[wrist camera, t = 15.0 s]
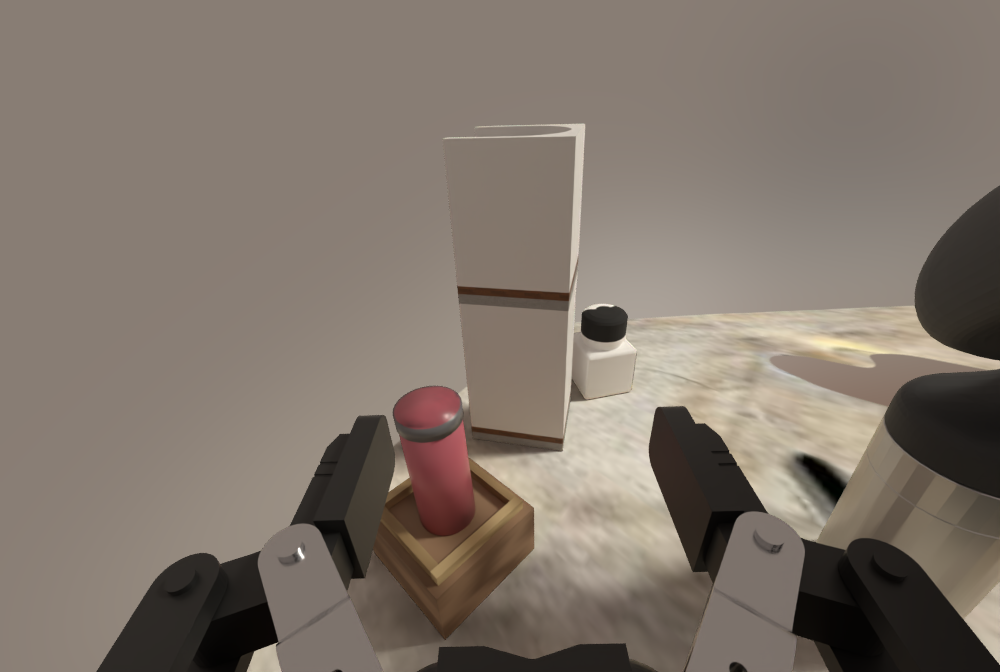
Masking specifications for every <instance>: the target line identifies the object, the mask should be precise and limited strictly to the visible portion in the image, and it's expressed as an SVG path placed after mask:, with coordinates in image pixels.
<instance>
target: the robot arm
mask: <svg viewBox="0 0 1000 672" xmlns="http://www.w3.org/2000/svg"><path fill="white" fill-rule="evenodd" d="M915 308H916V312H917V316H918V319H919V321H920V323H921V325H922V327H923V328H924V329H925V330H926V331H927V332H928V334H929V335H930V336H931V337H933V338H934V339H936V340H937V341H939V342H941V343H942V344H944V345H946V346H948V347H951V348H953V349H956V350H959V351H962V352H965V353H969V354H972V355H976V356H979V357H984V358H989V359H993V360H1000V186H998V187H997V188H995V189H994V190H992V191H991V192H989V193H988V194H987V195H986V196H984V197H983V198H982V199H980V200H979V201H978V202H977V203H975V204H974V205H973V206H972V207H971V208H969V209H968V210H967V211H966V212H965V213H964V214H963V215H962V216H961V217H960V218H959V219H958V220H957V221H956V222H955V223H954V224H953V225H952V226H951V227H950V228H949V229H948V230H947V231H946V233H945V234H944V235H943V236H942V237H941V239H940V240H939V241H938V242H937V244H936V245H935V247H934V248H933V250H932V251H931V253H930V255H929V256H928V258H927V260H926V262H925V264H924V265H923V268H922V270H921V272H920V274H919V277H918V280H917V284H916V289H915ZM649 458H650V463H651V466H652V469H653V471H654V474H655V477H656V479H657V482H658V484H659V487H660V489H661V492H662V494H663V497H664V500H665V502H666V505H667V507H668V510H669V512H670V515H671V517H672V520H673V523H674V525H675V528H676V530H677V533H678V535H679V538H680V540H681V543H682V546H683V548H684V551H685V553H686V556H687V558H688V561H689V563H690V566H691V569H692V571H693V572H708V573H709V575H710V578H711V580H712V582H713V584H712V587H711V589H710V592H709V595H708V598H707V601H706V604H705V607H704V610H703V613H702V616H701V619H700V622H699V625H698V628H697V631H696V634H695V637H694V640H693V643H692V646H691V649H690V652H689V655H688V657H687V660H686V663H685V666H684V669H683V672H792V671H793V664H794V658H795V652H796V643H797V637H796V635H798V636H801V637H804V638H807V639H810V640H814V642H815V644H816V646H817V648H818V650H819V652H820V654H821V656H822V658H823V660H824V662H825V664H826V666H827V668H828V670H829V672H1000V665H999V663H998V662H997V661H996V660H995V658H994V657H993V656H992V655H991V653H990V652H989V651H988V650H987V648H986V647H985V646H984V645H983V643H982V642H981V641H980V640H979V638H978V637H977V636H976V635H975V633H974V632H973V631H972V630H971V628H970V627H969V626H968V625H967V623H966V622H965V621H964V620H963V619H964V618H965V617H966V616H967V615H968V614H969V613H970V612H971V611H972V610H973V609H974V608H975V607H976V606H977V605H978V604H979V603H980V602H981V601H982V600H983V598H984V597H985V596H986V595H987V594H988V593H989V592H990V591H991V590H992V589H993V588H994V587H995V586H996V585H997V584H998V583H999V582H1000V369H997V370H989V371H977V372H957V373H939V374H932V375H925V376H921V377H918V378H915V379H913V380H911V381H909V382H907V383H906V384H904V385H903V386H902V387H901V388H900V389H899V390H898V391H897V393H896V395H895V396H894V398H893V399H892V401H891V403H890V405H889V407H888V409H887V411H886V413H885V415H884V417H883V418H882V420H881V422H880V424H879V426H878V428H877V430H876V431H875V433H874V435H873V437H872V439H871V441H870V443H869V445H868V447H867V449H866V451H865V453H864V454H863V456H862V458H861V460H860V462H859V464H858V466H857V467H856V469H855V471H854V473H853V475H852V477H851V479H850V480H849V482H848V484H847V486H846V488H845V490H844V492H843V493H842V495H841V497H840V499H839V501H838V503H837V505H836V506H835V508H834V510H833V512H832V514H831V516H830V518H829V519H828V521H827V523H826V525H825V527H824V528H823V530H822V532H821V534H820V536H819V538H818V539H817V541H816V542H812V541H809V540H805V539H803V538H800V537H799V535H798V534H797V533H796V532H795V530H793V529H792V528H791V527H790V526H789V525H788V524H787V523H785V522H784V521H782V520H781V519H779V518H777V517H775V516H772V515H770V514H768V513H767V511H766V510H765V508H764V506H763V505H762V503H761V501H760V500H759V498H758V497H757V495H756V493H755V492H754V490H753V488H752V487H751V485H750V484H749V482H748V480H747V479H746V477H745V476H744V474H743V472H742V471H741V469H740V467H739V466H737V463H736V461H735V459H734V458H733V456H732V454H730V453H729V450H728V448H727V446H726V445H725V443H724V442H723V440H722V438H721V437H720V436H719V435H718V434H717V433H716V432H715V431H713V430H712V429H711V428H710V427H709V426H707V425H706V424H705V423H704V424H695V422H694V420H693V419H692V417H691V415H690V413H689V412H688V410H687V408H686V407H684V406H675V407H657V409H656V411H655V415H654V421H653V426H652V432H651V437H650V443H649ZM394 467H395V454H394V449H393V444H392V440H391V436H390V432H389V428H388V423H387V419H386V417H385V416H384V415H372V416H358V417H357V419H356V421H355V423H354V426H353V428H352V430H351V433H350V434H340V435H339V436H338V437H337V438H336V439H335V440H334V441H333V442H332V443H331V444H330V445H329V446H328V447H327V449H326V451H325V453H324V455H323V457H322V459H321V462H320V465H319V466H318V468H317V470H316V472H315V474H314V475H315V477H313V478H312V480H311V483H310V485H309V487H308V489H307V491H306V493H305V495H304V497H303V499H302V502H301V504H300V506H299V508H298V510H297V512H296V514H295V516H294V518H293V520H292V522H291V524H290V526H289V527H287V528H285V529H283V530H281V531H279V532H278V533H276V534H275V535H274V536H273V537H272V538H270V539H269V540H268V542H267V543H266V544H265V545H264V547H263V548H262V550H261V551H259V552H256V553H254V554H251V555H248V556H244V557H241V558H238V559H235V560H232V561H228V562H225V563H222V564H220V563H219V562H218V560H217V559H216V558H215V557H214V556H213V555H211V554H207V553H199V554H194V555H190V556H187V557H185V558H183V559H181V560H179V561H177V562H175V563H174V564H172V565H171V566H169V567H168V568H167V569H165V570H164V571H163V572H162V573H161V574H160V575H159V576H158V577H157V579H155V581H154V582H153V584H152V585H151V586H150V588H149V590H148V591H147V593H146V595H145V596H144V597H143V599H142V601H141V602H140V604H139V605H138V607H137V609H136V610H135V612H134V613H133V615H132V617H131V618H130V620H129V621H128V623H127V624H126V626H125V627H124V629H123V631H122V632H121V634H120V635H119V637H118V638H117V640H116V642H115V643H114V645H113V646H112V648H111V650H110V651H109V653H108V654H107V656H106V657H105V659H104V661H103V662H102V664H101V665H100V667H99V668H98V670H97V672H247V669H248V667H249V664H250V661H251V659H252V656H253V653H254V651H256V650H258V649H261V648H264V647H267V646H269V645H272V644H275V643H277V642H278V644H277V645H276V651H277V656H278V660H279V664H280V667H281V671H282V672H383V670H382V668H381V666H380V663H379V661H378V659H377V657H376V654H375V652H374V650H373V648H372V645H371V643H370V641H369V639H368V636H367V634H366V632H365V630H364V628H363V625H362V623H361V621H360V619H359V616H358V614H357V612H356V610H355V607H354V605H353V603H352V601H351V599H350V597H349V595H348V593H347V590H348V587H349V583H350V580H351V579H357V578H365V576H366V572H367V568H368V565H369V561H370V557H371V554H372V550H373V546H374V543H375V539H376V535H377V532H378V528H379V524H380V521H381V517H382V513H383V510H384V506H385V502H386V499H387V495H388V491H389V488H390V484H391V480H392V477H393V473H394ZM417 672H658V671H656V670H654V669H652V668H651V667H649V666H647V665H645V664H642V663H640V662H638V661H635V660H631V659H629V657H628V652H627V648H626V643H625V644H579V645H576V646H573V647H570V648H567V649H564V650H561V651H558V652H555V653H552V654H549V655H546V656H543V657H540V658H537V659H527V658H524V657H520V656H517V655H513V654H510V653H506V652H503V651H499V650H496V649H492V648H489V647H485V646H475V647H439V655H438V662H437V663H434V664H431V665H429V666H427V667H425V668H423V669H421V670H419V671H417Z"/></svg>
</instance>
